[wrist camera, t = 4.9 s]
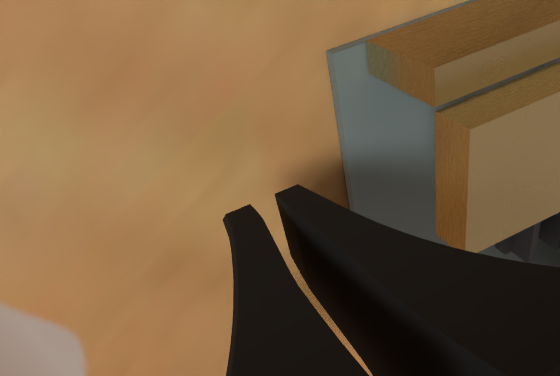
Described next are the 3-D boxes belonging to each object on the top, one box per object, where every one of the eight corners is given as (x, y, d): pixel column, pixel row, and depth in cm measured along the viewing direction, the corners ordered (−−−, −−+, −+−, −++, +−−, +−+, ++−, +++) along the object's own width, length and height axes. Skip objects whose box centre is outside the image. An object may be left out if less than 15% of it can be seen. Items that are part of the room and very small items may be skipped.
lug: (496, 135, 17) (605, 189, 13) (379, 186, 16) (464, 258, 12) (508, -10, 14) (650, 11, 10) (365, 40, 13) (472, 83, 9)
